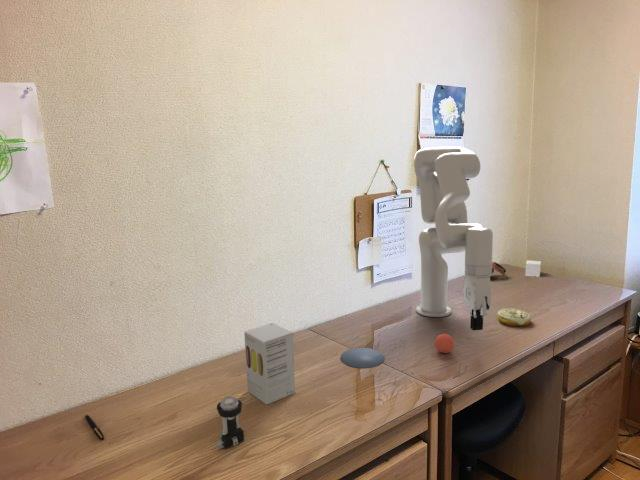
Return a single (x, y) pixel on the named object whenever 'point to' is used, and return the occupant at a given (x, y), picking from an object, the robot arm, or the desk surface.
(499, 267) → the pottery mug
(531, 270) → the white cube
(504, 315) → the decorated donut
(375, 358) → the disc
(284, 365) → the supplement box
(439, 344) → the ball
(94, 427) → the fountain pen
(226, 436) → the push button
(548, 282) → the desk surface
